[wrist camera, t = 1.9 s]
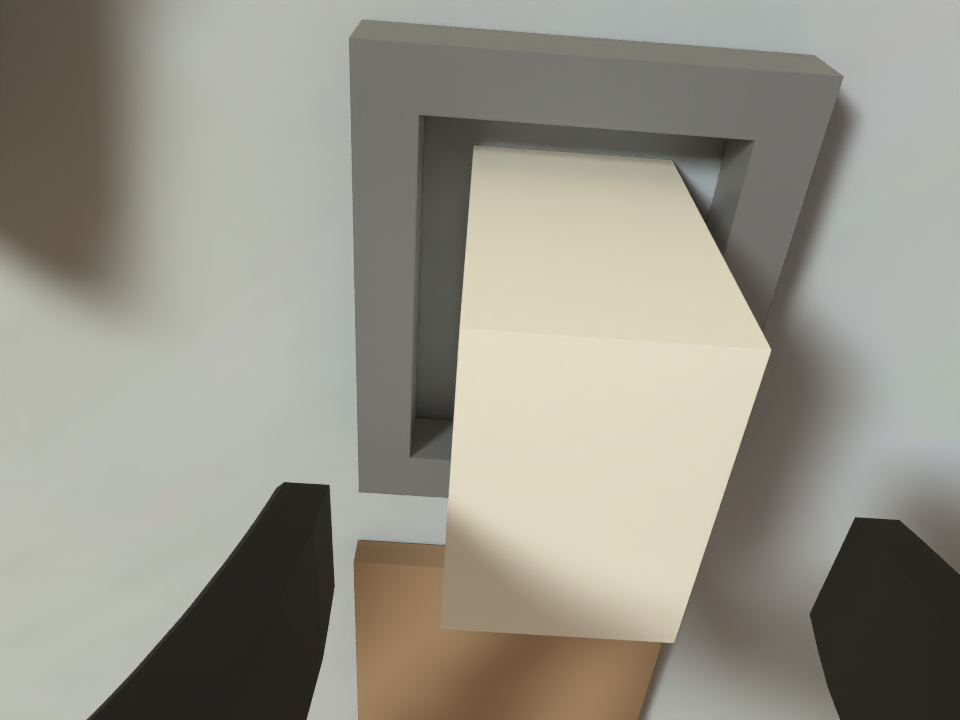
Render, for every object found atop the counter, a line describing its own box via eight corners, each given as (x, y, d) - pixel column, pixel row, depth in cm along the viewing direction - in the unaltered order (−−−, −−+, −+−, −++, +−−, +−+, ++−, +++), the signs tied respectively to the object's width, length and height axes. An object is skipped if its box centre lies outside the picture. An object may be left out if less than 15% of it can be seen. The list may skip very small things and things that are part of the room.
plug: (671, 159, 16) (771, 349, 10) (620, 397, 19) (674, 643, 13) (473, 144, 16) (459, 328, 10) (457, 386, 19) (439, 628, 13)
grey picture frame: (814, 55, 15) (843, 76, 13) (691, 472, 20) (703, 514, 19) (362, 20, 14) (349, 37, 13) (367, 451, 20) (359, 492, 19)
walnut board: (676, 560, 22) (681, 582, 22) (603, 796, 30) (606, 819, 29) (358, 539, 22) (353, 562, 21) (363, 783, 29) (360, 805, 29)
